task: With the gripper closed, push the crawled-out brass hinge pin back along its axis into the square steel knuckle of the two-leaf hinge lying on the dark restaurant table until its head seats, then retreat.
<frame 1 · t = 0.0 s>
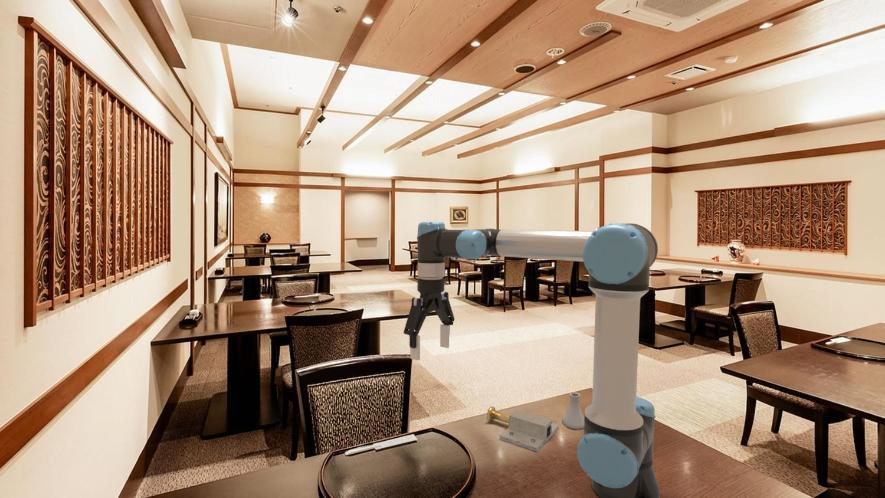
hand: (430, 353, 119), 28 cm above the table, fingers open, 13 cm apart
hinge: (529, 433, 130), on the table
pin: (508, 418, 134), point 3 cm above the table, slide at 7.0 cm
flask: (574, 425, 136), on the table
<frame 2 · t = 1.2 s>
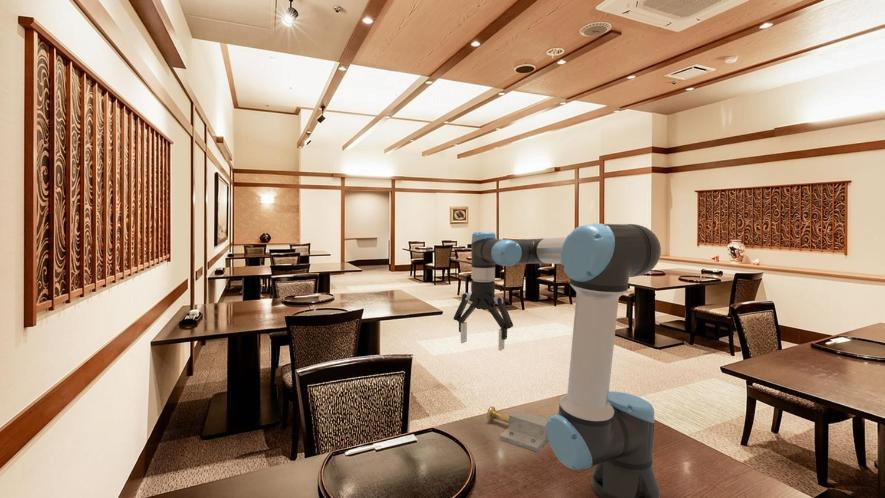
hand: (482, 345, 137), 25 cm above the table, fingers open, 13 cm apart
nothing on the table moved.
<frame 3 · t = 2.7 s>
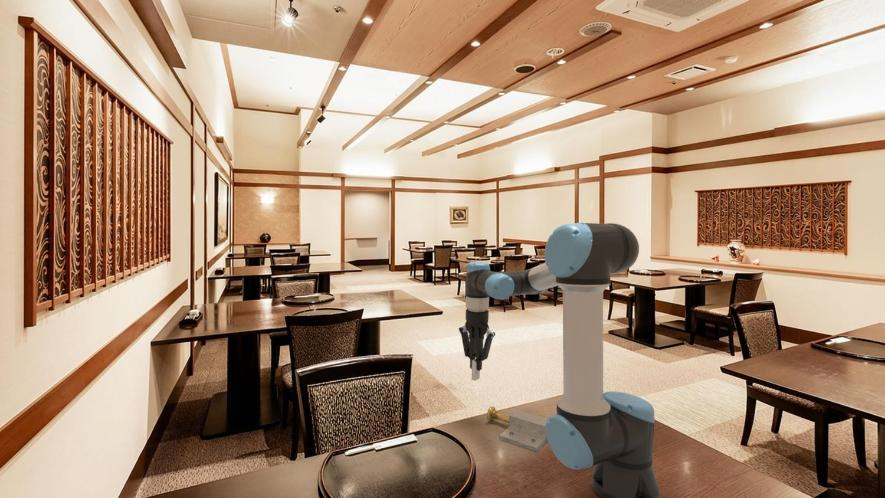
hand: (475, 378, 141), 13 cm above the table, fingers closed
nothing on the table moved.
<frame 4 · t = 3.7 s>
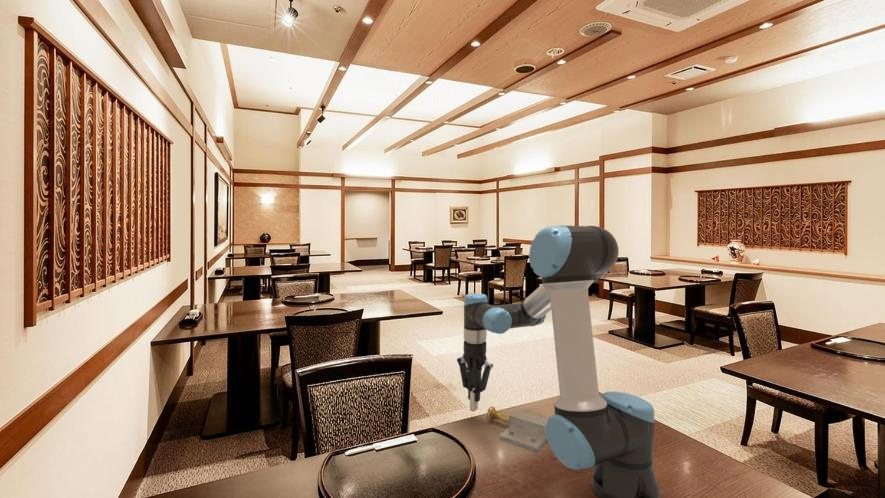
hand: (473, 409, 142), 2 cm above the table, fingers closed
nothing on the table moved.
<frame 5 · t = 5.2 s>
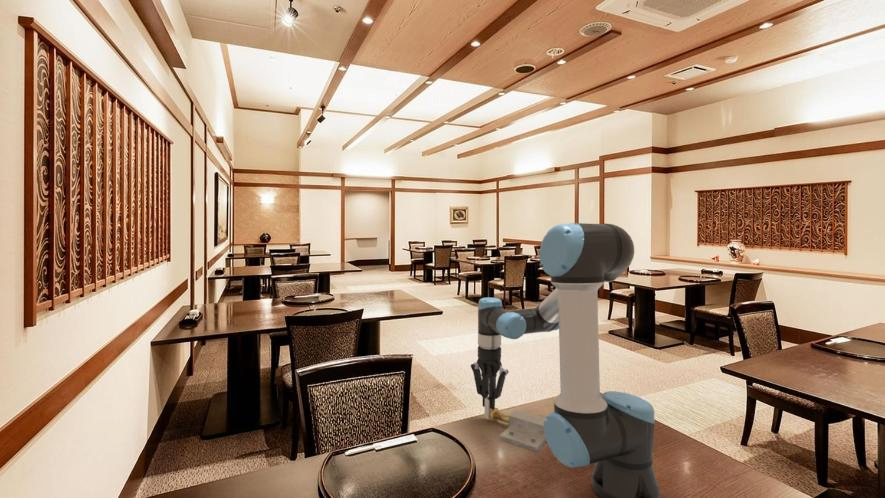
hand: (488, 417, 138), 1 cm above the table, fingers closed
pin: (511, 420, 134), point 2 cm above the table, slide at 5.8 cm, touching gripper
everything else where it was.
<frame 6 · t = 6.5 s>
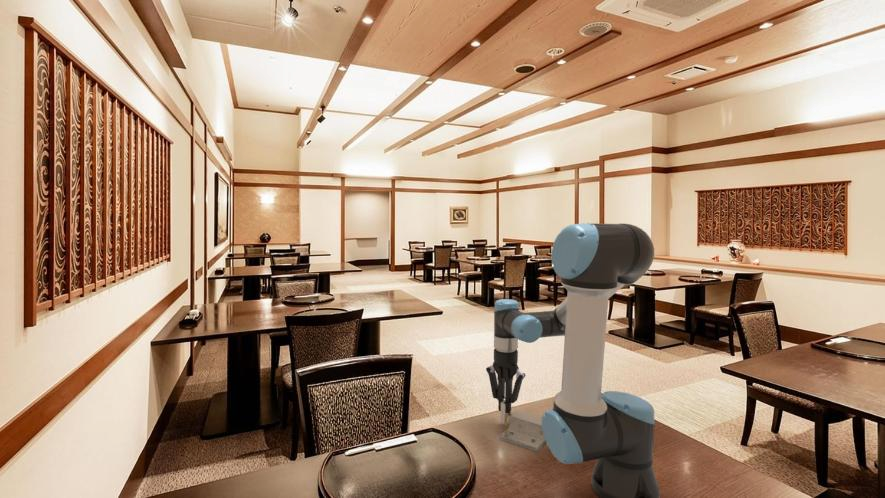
hand: (504, 421, 135), 1 cm above the table, fingers closed
pin: (528, 425, 130), point 3 cm above the table, slide at 0.0 cm
everything else where it was.
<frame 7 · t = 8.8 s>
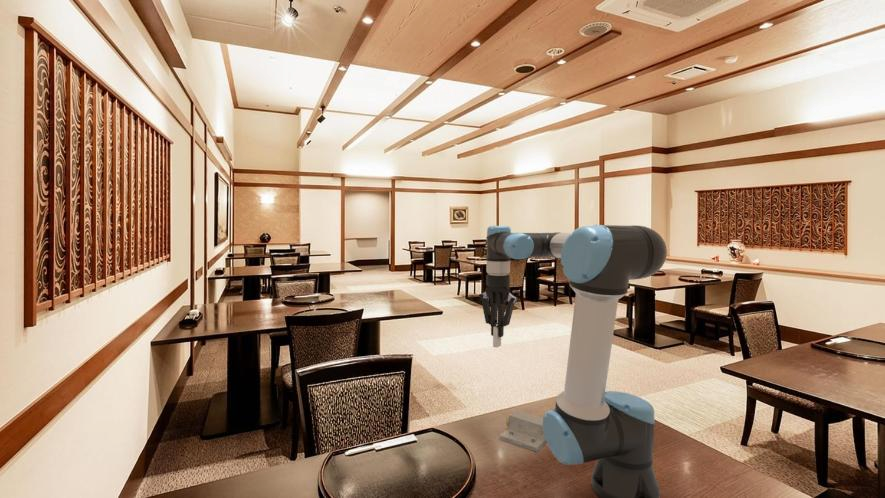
hand: (497, 346, 138), 24 cm above the table, fingers closed
nothing on the table moved.
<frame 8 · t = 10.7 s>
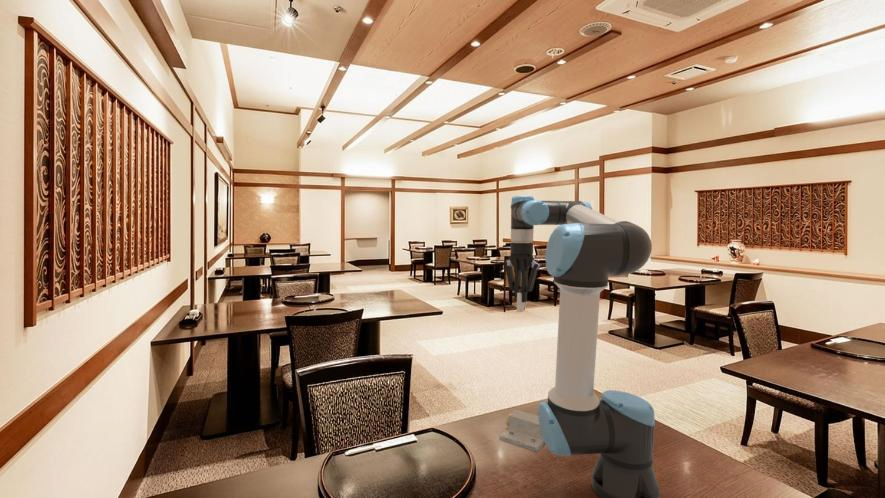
hand: (520, 311, 144), 34 cm above the table, fingers closed
nothing on the table moved.
at the end: pin slide at 0.0 cm; the gripper is holding nothing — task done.
